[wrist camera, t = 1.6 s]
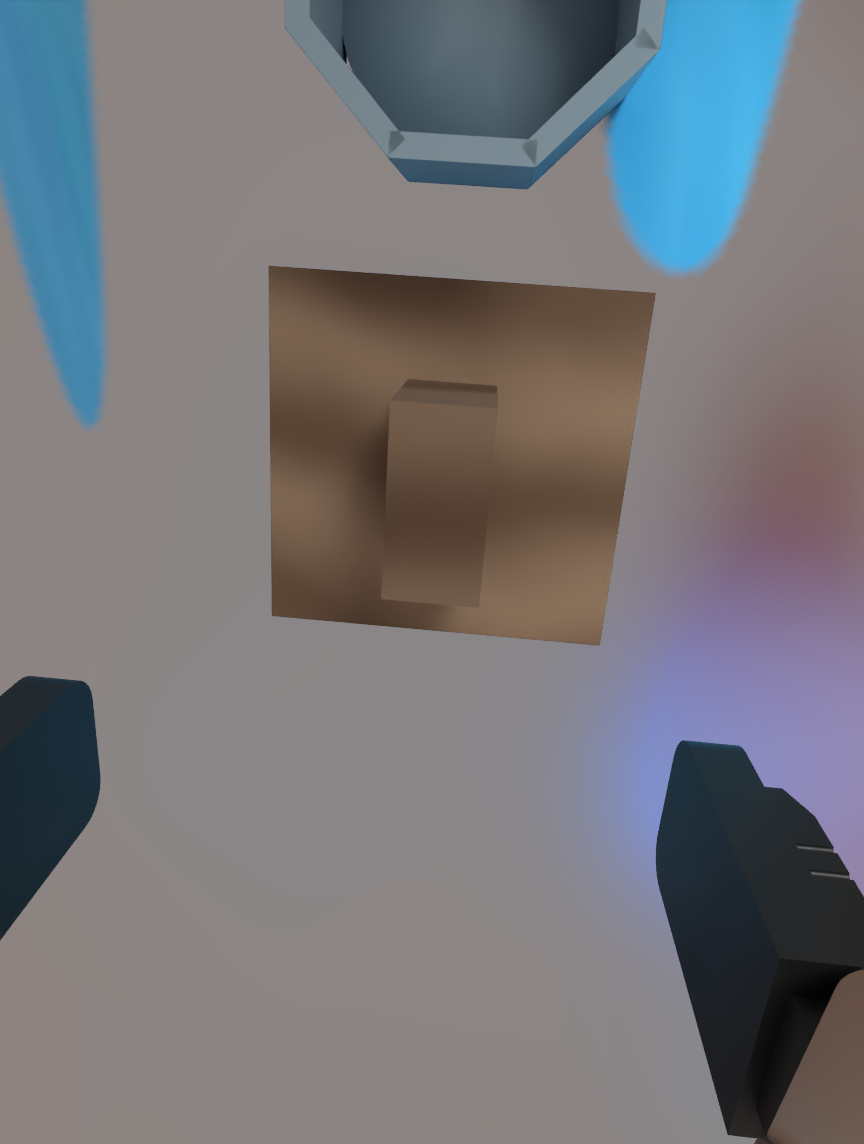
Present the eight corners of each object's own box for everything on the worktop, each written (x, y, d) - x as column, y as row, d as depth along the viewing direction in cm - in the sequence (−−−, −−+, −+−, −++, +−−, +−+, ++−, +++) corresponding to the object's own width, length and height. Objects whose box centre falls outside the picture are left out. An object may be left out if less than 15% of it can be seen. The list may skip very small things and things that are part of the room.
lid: (274, 266, 26) (217, 262, 21) (650, 292, 25) (693, 296, 20) (277, 607, 30) (230, 678, 25) (596, 636, 30) (620, 715, 24)
